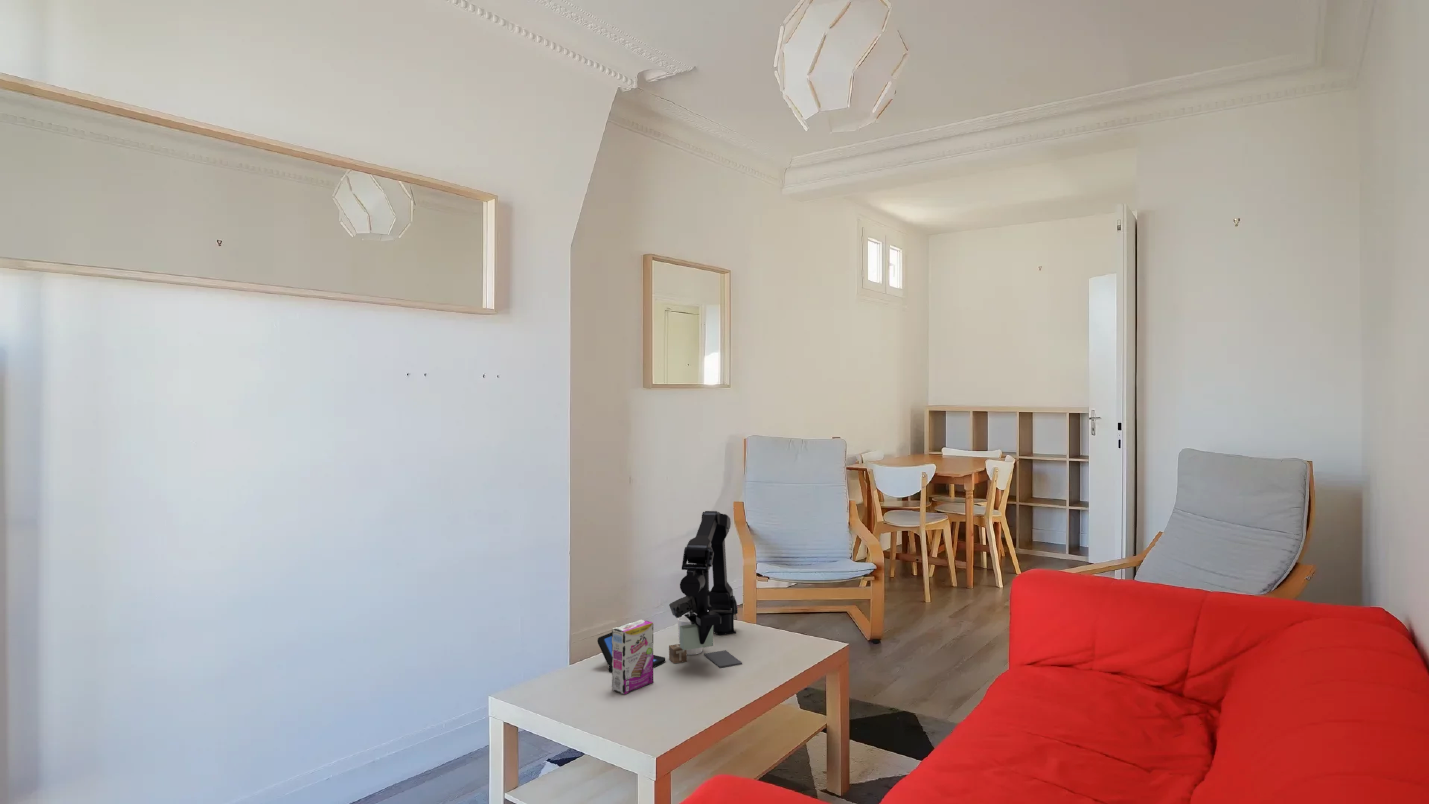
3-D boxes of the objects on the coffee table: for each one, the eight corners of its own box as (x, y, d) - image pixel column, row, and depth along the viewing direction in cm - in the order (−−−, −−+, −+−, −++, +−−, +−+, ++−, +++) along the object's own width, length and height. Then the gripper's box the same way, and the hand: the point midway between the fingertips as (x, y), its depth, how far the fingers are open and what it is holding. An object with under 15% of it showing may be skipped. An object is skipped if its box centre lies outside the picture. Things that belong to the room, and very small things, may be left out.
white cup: (674, 649, 231) (673, 616, 231) (698, 645, 234) (697, 613, 234) (684, 657, 224) (683, 623, 224) (708, 653, 227) (708, 619, 227)
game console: (633, 679, 207) (633, 645, 207) (596, 670, 215) (595, 638, 215) (667, 662, 220) (667, 631, 220) (631, 654, 228) (630, 624, 228)
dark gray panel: (725, 651, 228) (725, 650, 228) (742, 664, 217) (742, 662, 217) (703, 655, 225) (703, 653, 225) (719, 668, 214) (719, 666, 214)
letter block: (682, 657, 224) (681, 642, 224) (687, 661, 220) (686, 647, 220) (669, 659, 222) (668, 644, 222) (673, 663, 218) (673, 649, 218)
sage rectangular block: (709, 642, 219) (709, 622, 219) (713, 645, 217) (712, 624, 217) (680, 647, 216) (679, 626, 216) (683, 650, 213) (683, 628, 213)
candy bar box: (624, 695, 195) (623, 631, 195) (611, 691, 198) (610, 628, 198) (655, 682, 204) (654, 621, 204) (641, 678, 207) (640, 618, 207)
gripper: (661, 583, 222) (662, 636, 222) (683, 598, 205) (684, 656, 205) (697, 579, 226) (698, 631, 226) (721, 593, 209) (722, 650, 209)
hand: (699, 642), depth 217 cm, fingers closed on sage rectangular block, 3 cm apart
